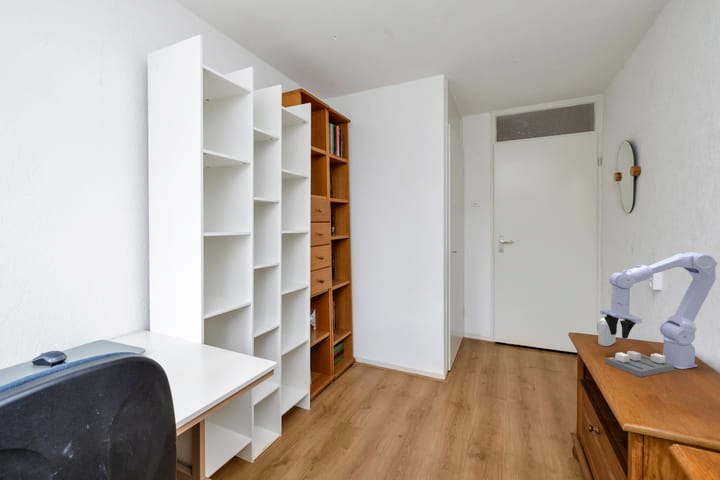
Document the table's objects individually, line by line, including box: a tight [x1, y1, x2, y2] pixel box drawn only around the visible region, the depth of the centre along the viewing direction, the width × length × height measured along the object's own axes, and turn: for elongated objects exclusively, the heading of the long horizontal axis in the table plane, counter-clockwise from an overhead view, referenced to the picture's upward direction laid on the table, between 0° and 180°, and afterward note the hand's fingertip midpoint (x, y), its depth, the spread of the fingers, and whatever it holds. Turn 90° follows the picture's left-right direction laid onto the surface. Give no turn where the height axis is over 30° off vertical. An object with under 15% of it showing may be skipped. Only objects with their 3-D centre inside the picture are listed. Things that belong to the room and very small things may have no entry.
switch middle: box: [626, 350, 642, 361], centre depth 125 cm, size 3×3×2 cm
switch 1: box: [614, 352, 630, 362], centre depth 123 cm, size 3×3×2 cm
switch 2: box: [650, 352, 666, 363], centre depth 122 cm, size 3×3×2 cm
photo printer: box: [597, 317, 617, 347], centre depth 147 cm, size 10×4×12 cm, turn 123°
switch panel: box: [605, 353, 675, 378], centre depth 123 cm, size 20×12×2 cm, turn 107°
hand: (619, 336), depth 130 cm, fingers open, 4 cm apart
